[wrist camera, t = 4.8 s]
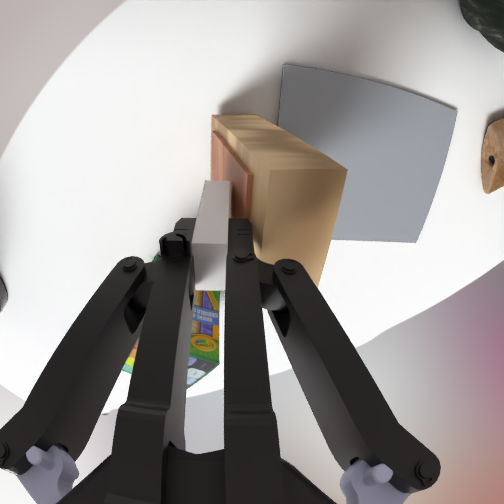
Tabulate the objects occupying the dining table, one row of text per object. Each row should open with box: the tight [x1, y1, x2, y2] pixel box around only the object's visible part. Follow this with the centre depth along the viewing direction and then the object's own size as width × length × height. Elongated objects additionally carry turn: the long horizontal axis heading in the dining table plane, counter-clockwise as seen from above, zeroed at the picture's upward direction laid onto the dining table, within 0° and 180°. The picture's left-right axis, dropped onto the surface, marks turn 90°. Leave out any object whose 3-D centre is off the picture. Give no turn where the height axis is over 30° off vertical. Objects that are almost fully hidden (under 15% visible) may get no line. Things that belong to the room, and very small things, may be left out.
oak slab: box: [211, 114, 348, 287], centre depth 19 cm, size 4×8×14 cm, turn 176°
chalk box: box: [122, 255, 220, 389], centre depth 30 cm, size 9×9×15 cm
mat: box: [278, 64, 457, 243], centre depth 26 cm, size 20×18×1 cm
